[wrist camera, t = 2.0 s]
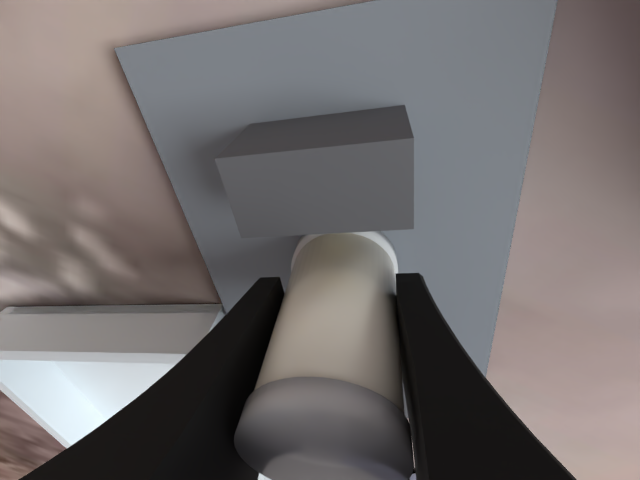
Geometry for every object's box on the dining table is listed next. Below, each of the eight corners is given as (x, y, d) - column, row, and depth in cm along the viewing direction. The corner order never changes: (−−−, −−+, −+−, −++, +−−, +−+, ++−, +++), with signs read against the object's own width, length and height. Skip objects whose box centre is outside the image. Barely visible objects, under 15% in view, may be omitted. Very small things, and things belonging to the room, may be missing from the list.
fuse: (398, 299, 12) (413, 504, 7) (304, 300, 13) (258, 488, 8) (395, 215, 10) (414, 415, 5) (285, 222, 11) (210, 404, 6)
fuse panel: (479, 377, 15) (500, 455, 12) (259, 371, 17) (238, 437, 14) (550, -32, 7) (648, -51, 5) (128, 45, 9) (31, 62, 6)
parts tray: (280, 439, 20) (269, 488, 18) (117, 428, 23) (92, 470, 21) (223, 303, 14) (197, 354, 12) (7, 306, 16) (-46, 349, 14)
